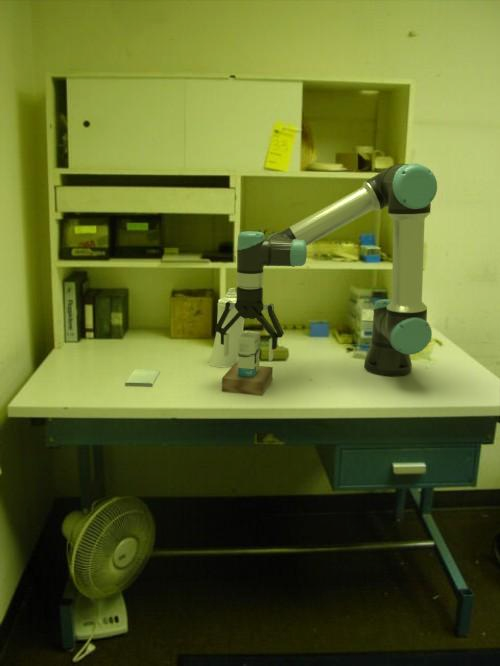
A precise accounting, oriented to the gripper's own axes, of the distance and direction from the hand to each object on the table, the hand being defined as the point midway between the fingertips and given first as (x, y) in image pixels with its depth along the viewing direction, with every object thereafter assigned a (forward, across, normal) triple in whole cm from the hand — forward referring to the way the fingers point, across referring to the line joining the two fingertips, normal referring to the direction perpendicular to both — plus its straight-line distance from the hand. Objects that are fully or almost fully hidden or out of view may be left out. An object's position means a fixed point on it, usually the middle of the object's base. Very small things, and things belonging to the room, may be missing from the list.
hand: (248, 357), depth 181 cm
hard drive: (+10, +32, +4) cm, 33 cm away
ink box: (+5, 0, 0) cm, 5 cm away
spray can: (+9, +12, -19) cm, 24 cm away
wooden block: (+9, 0, 0) cm, 9 cm away
